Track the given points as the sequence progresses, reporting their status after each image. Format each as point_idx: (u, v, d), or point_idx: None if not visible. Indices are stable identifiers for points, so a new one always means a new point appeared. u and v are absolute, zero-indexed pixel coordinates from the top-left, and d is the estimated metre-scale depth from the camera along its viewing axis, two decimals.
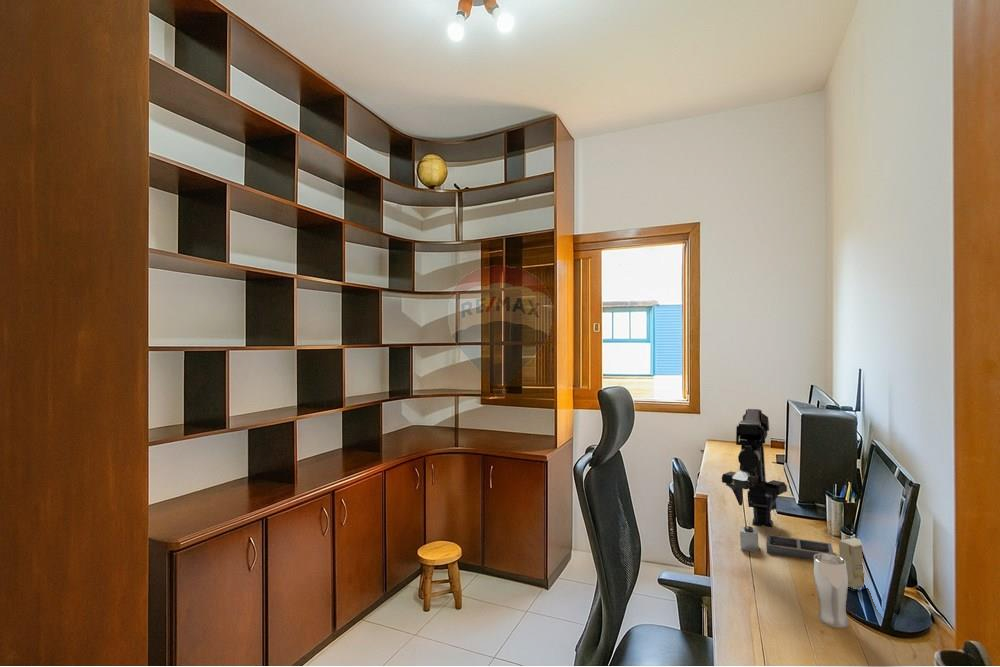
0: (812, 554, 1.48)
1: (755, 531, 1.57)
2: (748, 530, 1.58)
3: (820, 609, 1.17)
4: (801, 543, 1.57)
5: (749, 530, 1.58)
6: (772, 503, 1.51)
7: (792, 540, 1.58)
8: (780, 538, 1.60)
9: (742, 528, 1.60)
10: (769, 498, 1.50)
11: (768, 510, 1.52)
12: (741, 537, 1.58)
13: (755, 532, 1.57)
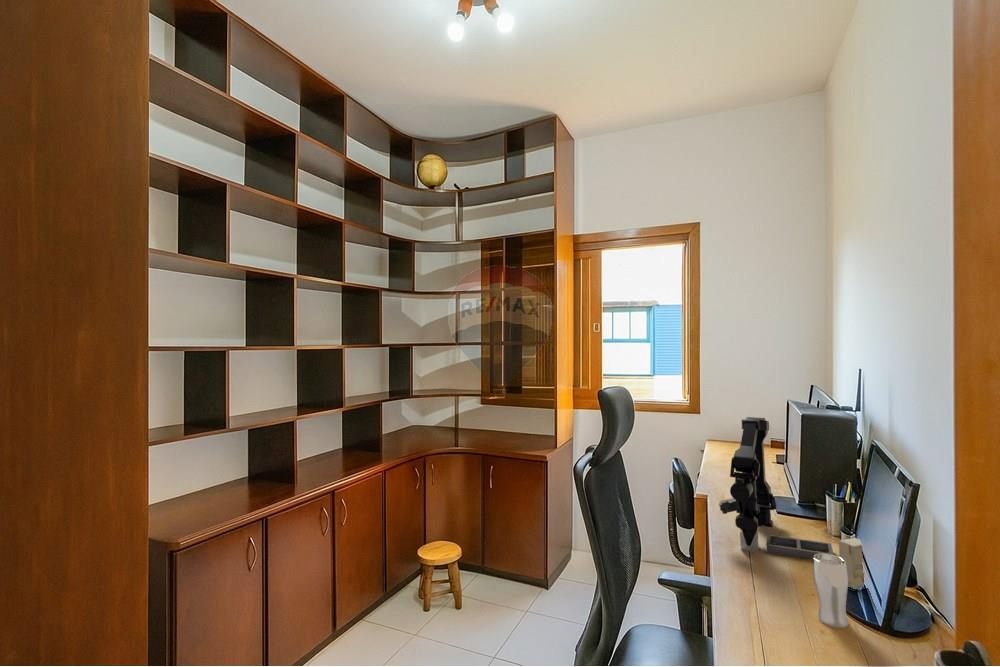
0: (812, 554, 1.48)
1: None
2: None
3: (820, 609, 1.17)
4: (801, 543, 1.57)
5: None
6: (748, 537, 1.54)
7: (792, 540, 1.58)
8: (780, 538, 1.60)
9: None
10: None
11: (746, 542, 1.55)
12: (741, 537, 1.58)
13: None
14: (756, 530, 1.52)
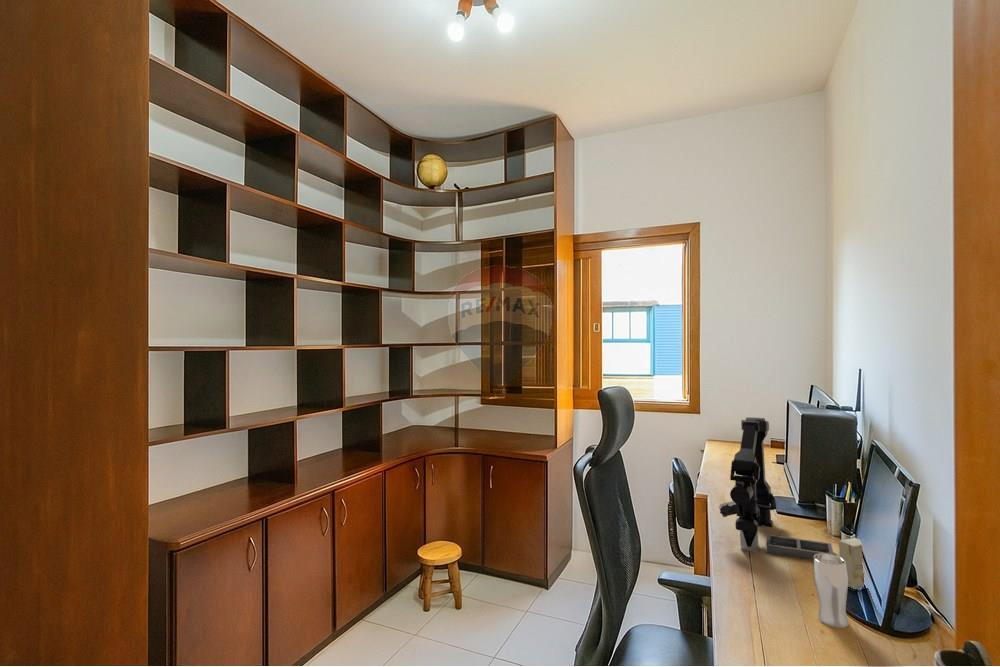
0: (812, 554, 1.48)
1: None
2: None
3: (820, 609, 1.17)
4: (801, 543, 1.57)
5: None
6: (749, 538, 1.55)
7: (792, 540, 1.58)
8: (780, 538, 1.60)
9: None
10: None
11: (746, 543, 1.57)
12: (741, 537, 1.58)
13: None
14: (756, 531, 1.53)
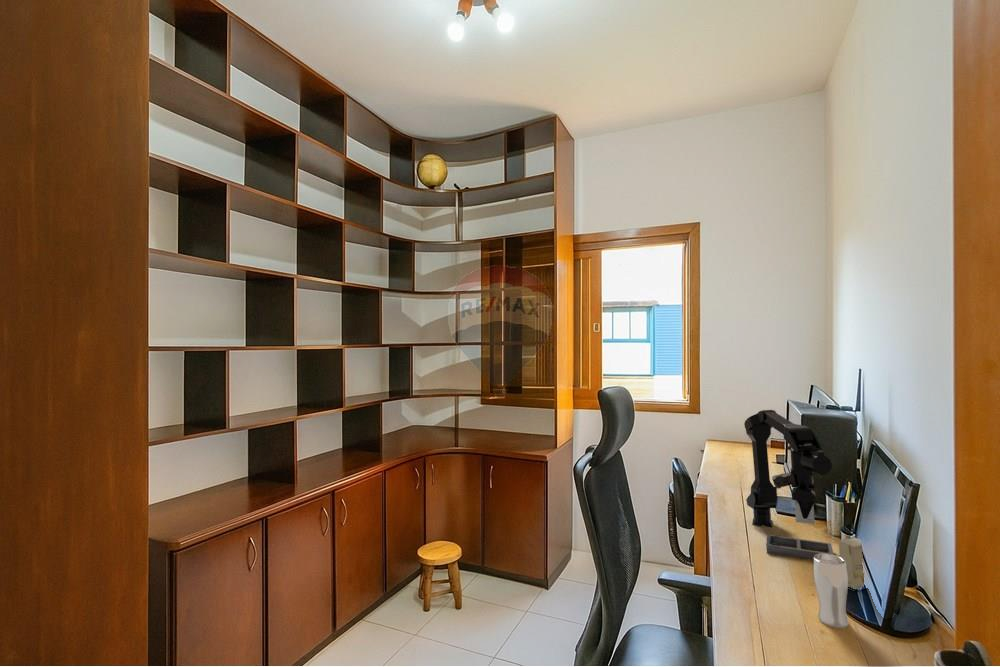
0: (812, 554, 1.48)
1: None
2: None
3: (820, 609, 1.17)
4: (801, 543, 1.57)
5: None
6: (805, 509, 1.50)
7: (792, 540, 1.58)
8: (780, 538, 1.60)
9: None
10: (798, 502, 1.51)
11: (802, 515, 1.51)
12: (796, 508, 1.52)
13: None
14: None
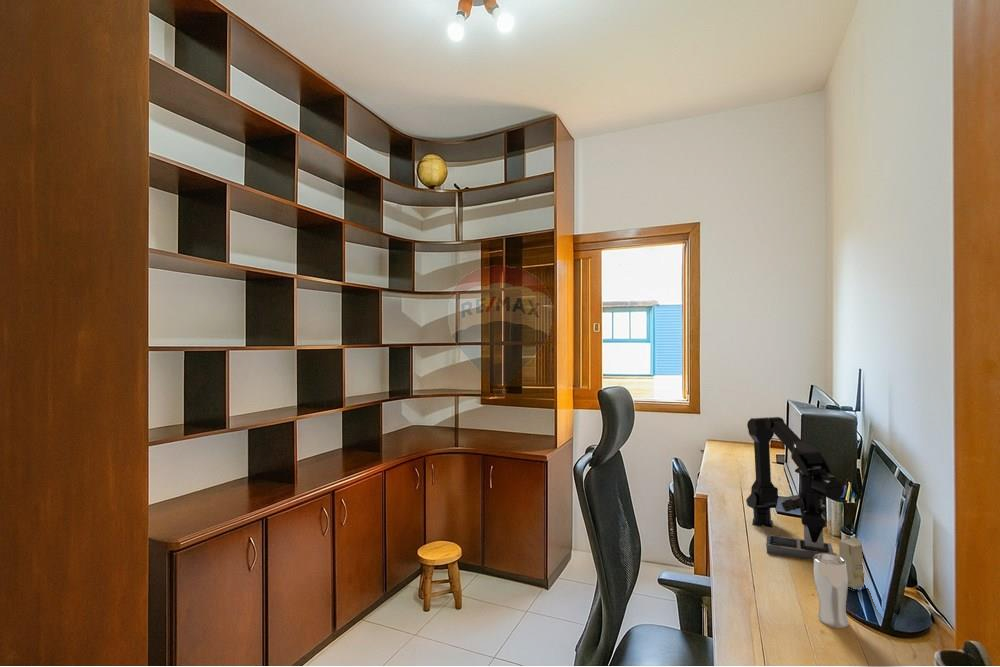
0: (812, 554, 1.48)
1: None
2: None
3: (820, 609, 1.17)
4: (801, 543, 1.57)
5: None
6: (814, 533, 1.49)
7: (792, 540, 1.58)
8: (780, 538, 1.60)
9: None
10: None
11: None
12: (805, 532, 1.51)
13: None
14: (823, 526, 1.47)
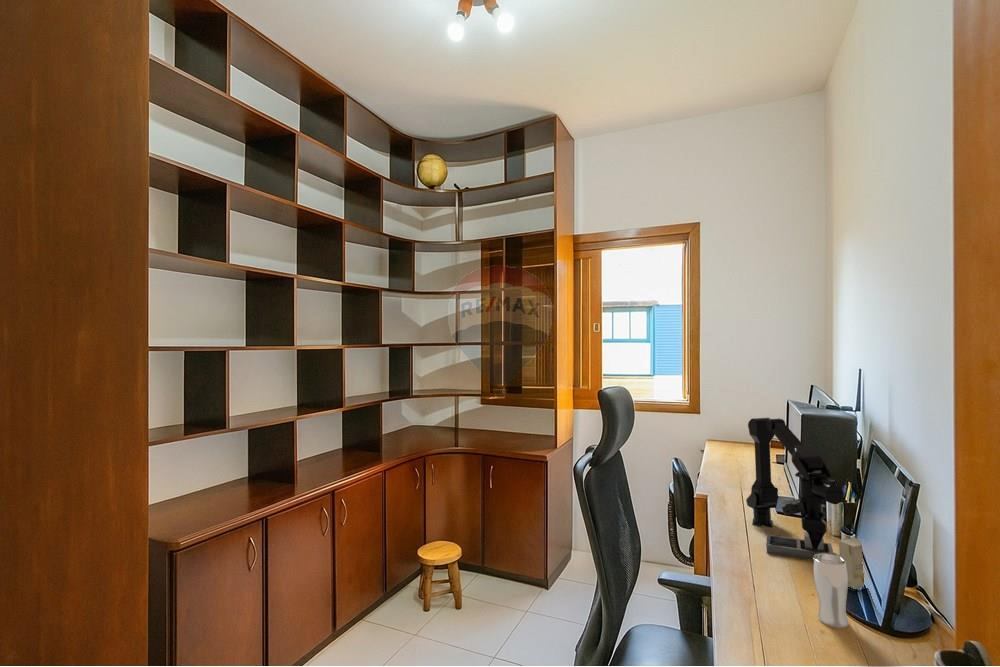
0: (812, 554, 1.48)
1: None
2: None
3: (820, 609, 1.17)
4: (801, 543, 1.57)
5: None
6: (815, 540, 1.47)
7: (792, 540, 1.58)
8: (780, 538, 1.60)
9: (806, 533, 1.54)
10: (808, 532, 1.48)
11: (812, 545, 1.48)
12: (806, 543, 1.51)
13: None
14: (824, 533, 1.45)
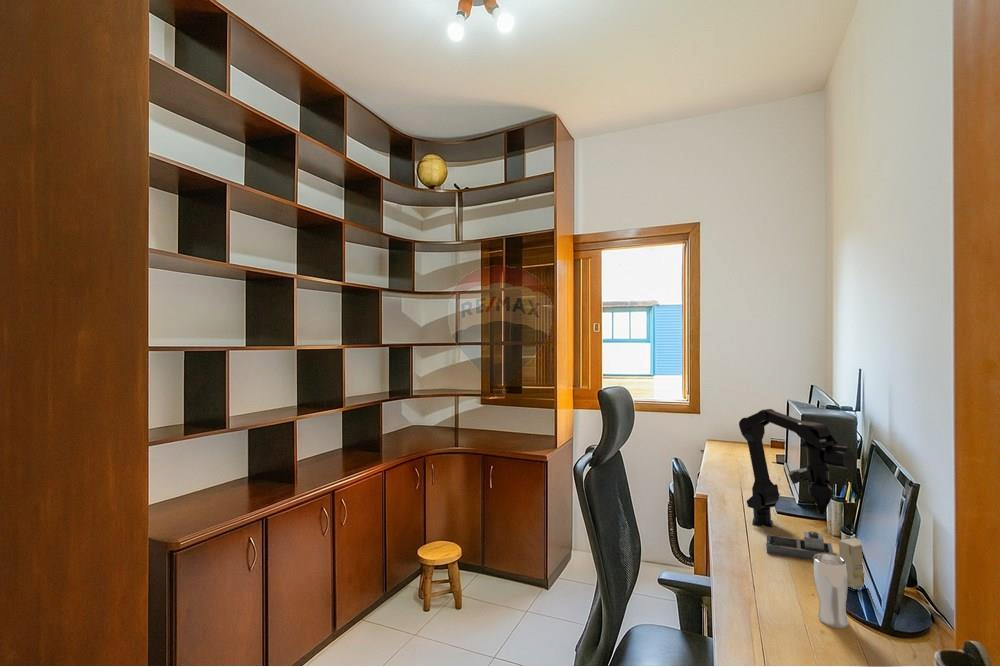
0: (812, 554, 1.48)
1: (821, 537, 1.51)
2: (813, 536, 1.51)
3: (820, 609, 1.17)
4: (801, 543, 1.57)
5: (814, 536, 1.51)
6: (822, 506, 1.53)
7: (792, 540, 1.58)
8: (780, 538, 1.60)
9: (806, 533, 1.54)
10: (815, 499, 1.54)
11: (819, 511, 1.54)
12: (806, 543, 1.51)
13: (821, 538, 1.50)
14: (830, 498, 1.50)
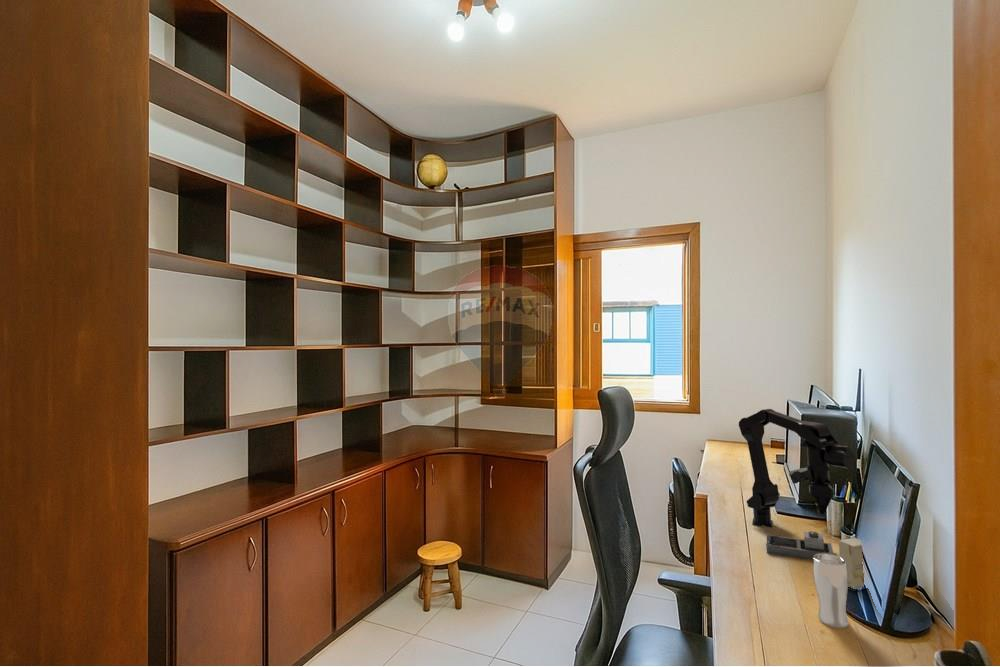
0: (812, 554, 1.48)
1: (821, 537, 1.51)
2: (813, 536, 1.51)
3: (820, 609, 1.17)
4: (801, 543, 1.57)
5: (814, 536, 1.51)
6: (822, 505, 1.53)
7: (792, 540, 1.58)
8: (780, 538, 1.60)
9: (806, 533, 1.54)
10: (815, 498, 1.54)
11: None
12: (806, 543, 1.51)
13: (821, 538, 1.50)
14: (831, 498, 1.51)
